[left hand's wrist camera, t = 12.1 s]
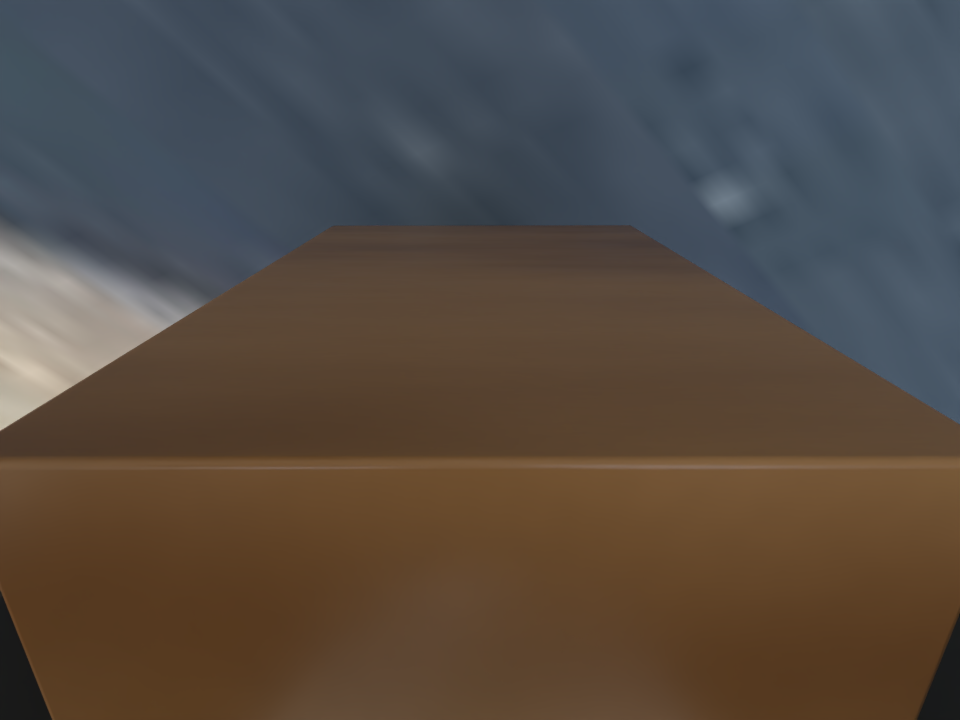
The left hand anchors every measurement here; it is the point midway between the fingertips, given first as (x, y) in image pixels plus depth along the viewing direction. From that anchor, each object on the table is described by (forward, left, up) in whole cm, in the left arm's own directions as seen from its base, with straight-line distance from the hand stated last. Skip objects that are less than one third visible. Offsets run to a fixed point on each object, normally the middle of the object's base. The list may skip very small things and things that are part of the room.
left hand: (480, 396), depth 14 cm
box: (+8, -8, -2) cm, 11 cm away
